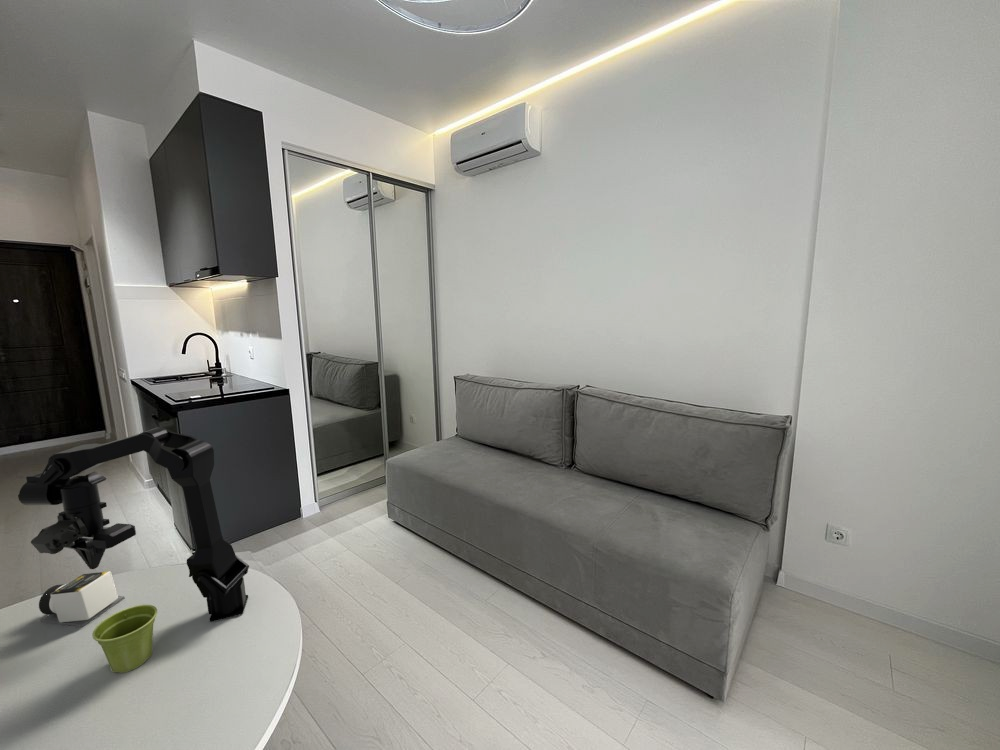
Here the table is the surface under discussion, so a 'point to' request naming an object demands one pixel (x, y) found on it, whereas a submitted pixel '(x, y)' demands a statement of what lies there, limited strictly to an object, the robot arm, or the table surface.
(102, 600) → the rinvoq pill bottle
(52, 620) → the mat
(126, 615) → the plant pot
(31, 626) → the table surface
